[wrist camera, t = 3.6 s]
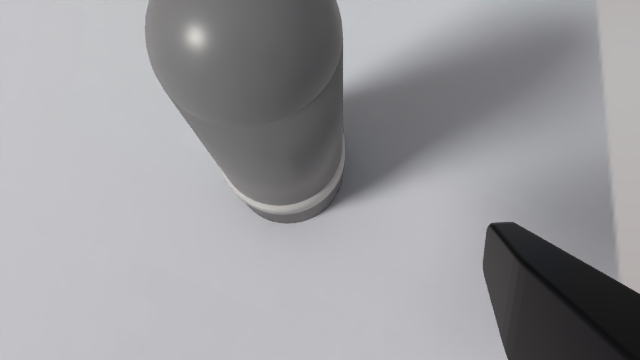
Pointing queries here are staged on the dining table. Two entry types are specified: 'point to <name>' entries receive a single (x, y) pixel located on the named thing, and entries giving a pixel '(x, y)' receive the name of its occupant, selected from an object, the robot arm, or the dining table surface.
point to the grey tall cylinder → (259, 94)
